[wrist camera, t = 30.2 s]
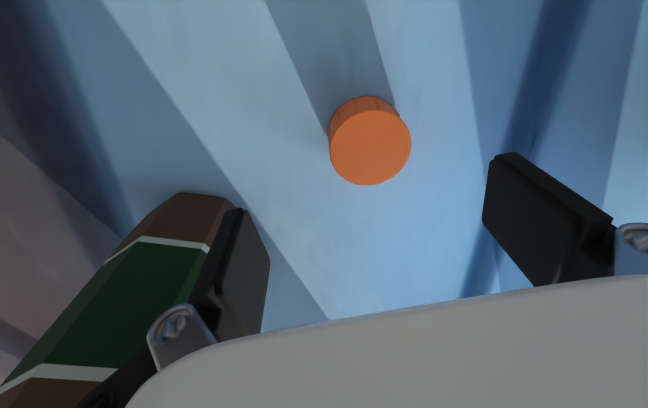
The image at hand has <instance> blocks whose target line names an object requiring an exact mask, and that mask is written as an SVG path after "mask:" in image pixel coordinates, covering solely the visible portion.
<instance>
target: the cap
mask: <svg viewBox="0 0 648 408" xmlns="http://www.w3.org/2000/svg"><path fill="white" fill-rule="evenodd" d="M399 116H400V115H399V114H398V113H397V111H396V110H395V109H394V108H393V106H392V105H391V104H388V103H387V102H385V101H384V100H382V99H379V98H377V97H374V96H362V97H357V98H352V100H349V101H348V102H346V103H345V104H343V105H342V106H341V107H340V108H339V109H338V110H336V113H335V114H334V116H333V117H332V119H331V122H330V125H329V127H328V138H329V148H330V158H331V162H332V165H333V167H334V169H335V170H336V171H337V173H338V174H339V175H340V176H341V177H342V178H344V179H345V180H347V181H349V182H351V183H353V184H357V185H363V186H371V185H377V184H380V183H383V182H385V181H387V180H389V179H391V178H392V177H394V176H395V175H396V174H398V173H399V172H400V170H401V169H402V168H403V167H404V165H405V164H406V162H407V160H408V158H409V155H410V152H411V136H410V133H409V130H408V128H407V126H406V125H405V124H404V122H403V121H402V120H401V118H400V117H399Z"/></svg>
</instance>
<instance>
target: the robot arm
mask: <svg viewBox="0 0 648 408" xmlns="http://www.w3.org/2000/svg"><path fill="white" fill-rule="evenodd" d="M612 220H613V218H612V217H611V216H609V215H608V214H606V213H605V212H603V211H602V210H601V209H599V208H598V207H596V206H595V205H593V204H592V203H590V202H589V201H587V200H586V199H584V198H583V197H581V196H580V195H578V194H577V193H575V192H574V191H572V190H571V189H569V188H568V187H567V186H565V185H564V184H562V183H561V182H559V181H558V180H556V179H555V178H553V177H552V176H550V175H549V174H547V173H546V172H544V171H543V170H541V169H540V168H538V167H537V166H536V165H534V164H533V163H531V162H530V161H528V160H527V159H525V158H524V157H522V156H521V155H519V154H518V153H516V152H509V153H504V154H500V155H496V156H495V158H494V160H491V161H490V164H489V170H488V177H487V184H486V191H485V198H484V205H483V212H482V222H483V224H484V226H485V227H486V228H487V230H488V231H489V232H490V233H491V235H492V236H493V237H494V238H495V239H496V241H497V242H498V243H499V244H500V245H501V247H502V248H503V249H504V250H505V252H506V253H507V254H508V255H509V256H510V258H511V259H512V260H513V261H514V263H515V264H516V265H517V266H518V267H519V269H520V270H521V271H522V272H523V273H524V275H525V276H526V277H527V278H528V280H529V281H530V282H531V283H532V284H533V286H534V287H532V288H526V289H520V290H513V291H507V292H501V293H495V294H488V295H482V296H476V297H470V298H464V299H457V300H451V301H445V302H439V303H433V304H427V305H421V306H415V307H409V308H403V309H397V310H391V311H385V312H379V313H373V314H367V315H361V316H355V317H349V318H344V319H338V320H332V321H326V322H320V323H314V324H309V325H303V326H297V327H291V328H286V329H281V330H275V331H270V332H265V333H260V330H261V324H262V317H263V311H264V304H265V297H266V291H267V284H268V278H269V271H270V259H269V256H268V254H267V251H266V249H265V247H264V245H263V243H262V241H261V238H260V236H259V234H258V232H257V230H256V228H255V225H254V223H253V221H252V219H251V217H250V215H249V213H248V211H247V210H245V211H243V209H242V208H237V209H232V210H227V211H226V212H225V214H224V216H223V219H222V221H221V224H220V226H219V228H218V231H217V233H216V236H215V238H214V240H213V243H212V245H211V248H210V249H209V251H208V253H207V256H206V258H205V261H204V263H203V265H202V268H201V270H200V273H199V275H198V277H197V280H196V282H195V284H194V287H193V289H192V292H191V294H190V296H189V299H188V301H187V303H181V304H177V305H174V306H172V307H170V308H169V309H167V310H165V311H164V312H163V313H162V314H160V315H159V316H158V317H157V318H156V320H155V321H154V322H153V323H152V325H151V327H150V328H149V331H148V334H147V343H148V345H147V346H146V347H145V348H144V349H142V350H141V351H140V352H139V353H137V354H136V355H135V356H134V357H132V358H131V359H130V360H129V361H128V362H126V363H125V364H124V365H123V366H121V367H120V368H119V369H118V370H116V371H115V372H114V373H113V374H112V375H110V376H109V377H108V378H107V379H105V380H104V381H103V382H102V383H100V384H99V385H98V386H97V387H96V388H94V389H93V390H92V391H91V392H89V393H88V394H87V395H86V396H85V397H84V398H83V399H82V400H81V401H80V402H79V403H78V404H77V405H76V407H75V408H648V223H628V224H623V225H621V226H619V227H618V228H616V227H615V226H614V225H612V224H611V222H612Z"/></svg>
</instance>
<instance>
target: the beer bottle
mask: <svg viewBox="0 0 648 408" xmlns="http://www.w3.org/2000/svg"><path fill="white" fill-rule="evenodd" d="M232 209H236V208H235V207H234V206H233V205H232V204H231V203H230V202H229V201H228V200H227V199H225V198H218V197H211V196H204V195H197V194H190V193H183V192H180V193H177V194H175V195H174V196H173V197H171V198H170V199H168V200H167V201H166V202H164V203H163V204H162V205H160V206H159V207H158V208H156V209H155V210H153V211H152V212H151V213H149V214H148V215H147V216H146V217H145V218H144V219H143V220H142V221H141V222H140V223H139V224H138V225H137V226H136V227H135V228H134V229H133V230H132V231H131V232H130V234H129V235H128V236H127V237H126V238H125V239H124V241H123V242H122V243H121V244H120V245H119V246H118V248H117V249H116V250H115V251H114V252H113V254H112V255H111V256H110V257H109V258H108V259H107V261H106V262H105V263H104V264H103V265H102V267H101V268H100V269H99V270H98V271H97V272H96V274H95V275H94V276H93V277H92V278H91V279H90V281H89V282H88V283H87V284H86V285H85V287H84V288H83V289H82V290H81V291H80V292H79V294H78V295H77V296H76V297H75V298H74V300H73V301H72V302H71V303H70V304H69V305H68V307H67V308H66V309H65V310H64V311H63V312H62V314H61V315H60V316H59V317H58V318H57V320H56V321H55V322H54V323H53V324H52V325H51V327H50V328H49V329H48V330H47V331H46V332H45V334H44V335H43V336H42V337H41V338H40V340H39V341H38V342H37V343H36V344H35V345H34V347H33V348H32V349H31V350H30V351H29V353H28V354H27V355H26V356H25V357H24V358H23V360H22V361H21V362H20V363H19V364H18V365H17V367H16V368H15V369H14V370H13V371H12V373H11V374H10V375H9V376H8V377H7V378H6V380H5V381H4V382H3V383H2V384H1V386H0V408H75V407H76V405H77V404H78V403H79V402H80V401H81V400H82V399H83V398H84V397H85V396H86V395H87V394H88V393H89V392H91V391H92V390H93V389H94V388H96V387H97V386H98V385H99V384H100V383H102V382H103V381H104V380H105V379H107V378H108V377H109V376H110V375H112V374H113V373H114V372H115V371H116V370H118V369H119V368H120V367H121V366H123V365H124V364H125V363H126V362H128V361H129V360H130V359H131V358H132V357H134V356H135V355H136V354H137V353H139V352H140V351H141V350H142V349H144V348H145V347H146V346H147V345H148V343H147V334H148V331H149V328H150V327H151V325H152V323H153V322H154V321H155V320H156V318H157V317H158V316H159V315H160V314H162V313H163V312H164V311H165V310H167V309H169V308H170V307H172V306H174V305H177V304H181V303H187V301H188V299H189V296H190V294H191V292H192V289H193V287H194V284H195V282H196V280H197V277H198V275H199V273H200V270H201V268H202V265H203V263H204V261H205V258H206V256H207V253H208V251H209V249H210V248H211V245H212V243H213V240H214V238H215V236H216V233H217V231H218V228H219V226H220V224H221V221H222V219H223V216H224V214H225V212H226V211H227V210H232ZM255 228H256V227H255Z"/></svg>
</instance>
